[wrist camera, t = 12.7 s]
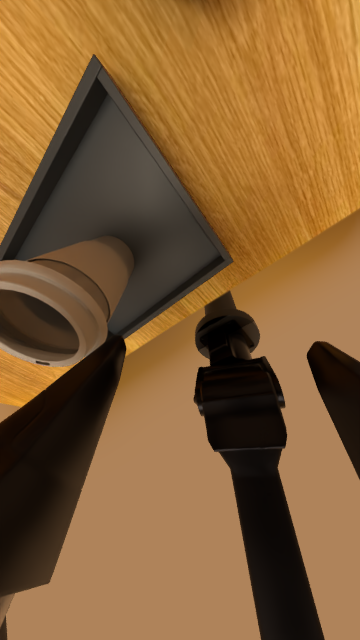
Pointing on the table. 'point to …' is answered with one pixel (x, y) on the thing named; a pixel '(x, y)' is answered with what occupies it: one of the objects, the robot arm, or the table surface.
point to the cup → (62, 300)
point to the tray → (116, 204)
